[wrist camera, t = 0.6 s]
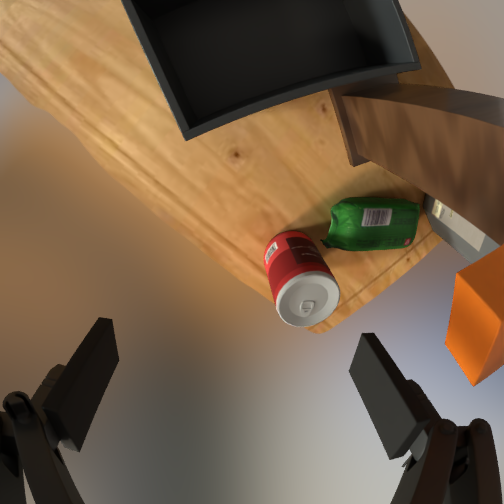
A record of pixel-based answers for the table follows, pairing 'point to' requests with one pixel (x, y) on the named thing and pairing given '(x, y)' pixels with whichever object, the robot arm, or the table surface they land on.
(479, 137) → the wooden pedestal column
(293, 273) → the canned food
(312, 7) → the dark grey open box
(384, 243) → the snack package
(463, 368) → the orange bar
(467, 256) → the liquor
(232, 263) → the table surface
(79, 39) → the table surface
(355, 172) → the table surface
